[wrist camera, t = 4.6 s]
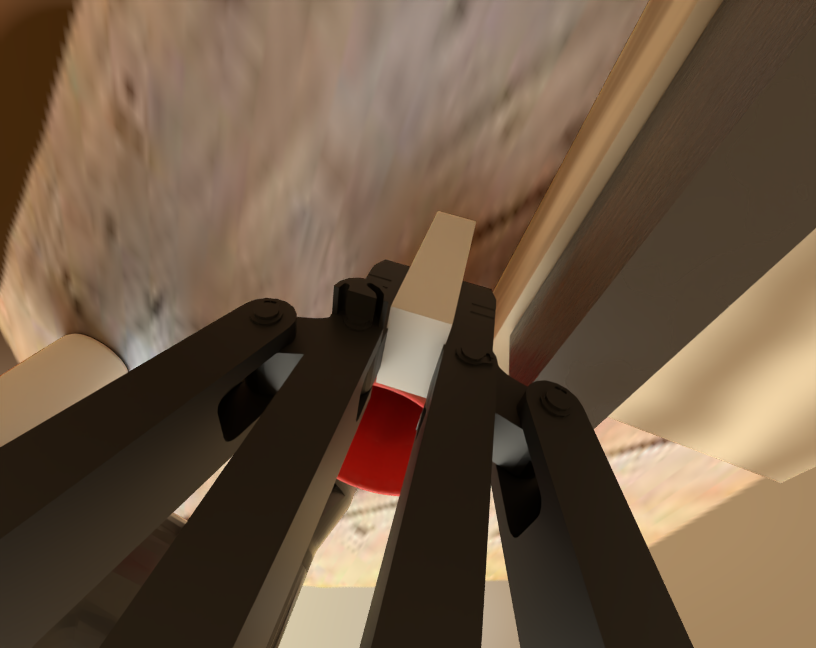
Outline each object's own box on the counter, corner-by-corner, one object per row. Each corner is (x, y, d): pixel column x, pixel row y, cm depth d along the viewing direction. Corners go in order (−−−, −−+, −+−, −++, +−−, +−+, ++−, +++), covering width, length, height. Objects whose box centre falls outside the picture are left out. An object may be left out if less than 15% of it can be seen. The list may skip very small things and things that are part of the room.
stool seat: (484, 308, 25) (477, 367, 20) (811, -304, 10) (1063, -606, 6) (730, 401, 24) (780, 482, 20) (1421, -85, 10) (2219, -208, 5)
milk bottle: (79, 321, 37) (-234, 513, 22) (142, 371, 40) (-93, 572, 25) (56, 345, 41) (-223, 522, 25) (116, 389, 44) (-102, 572, 28)
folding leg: (957, -399, 6) (1656, -1114, 2) (1151, -331, 6) (2173, -947, 2) (504, 333, 18) (500, 411, 14) (571, 359, 18) (587, 444, 14)
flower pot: (507, 329, 25) (504, 446, 18) (433, 408, 32) (409, 516, 25) (375, 255, 24) (312, 346, 17) (328, 352, 31) (268, 448, 24)
